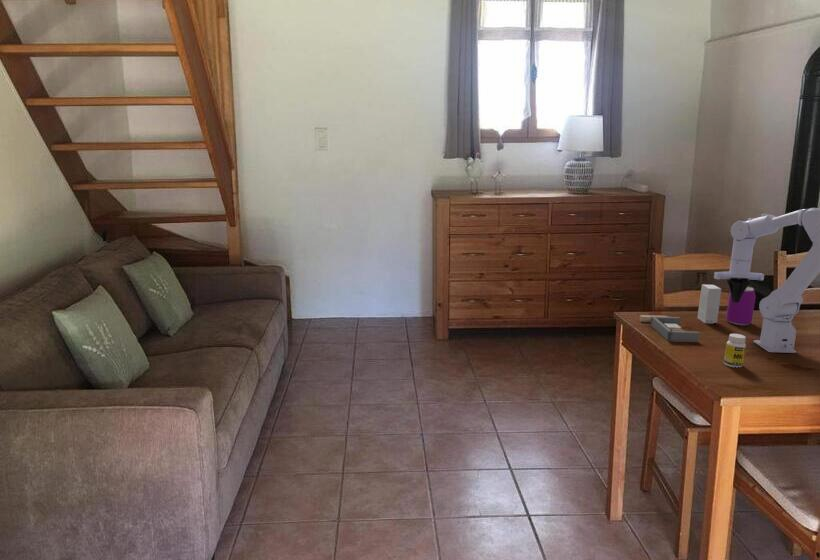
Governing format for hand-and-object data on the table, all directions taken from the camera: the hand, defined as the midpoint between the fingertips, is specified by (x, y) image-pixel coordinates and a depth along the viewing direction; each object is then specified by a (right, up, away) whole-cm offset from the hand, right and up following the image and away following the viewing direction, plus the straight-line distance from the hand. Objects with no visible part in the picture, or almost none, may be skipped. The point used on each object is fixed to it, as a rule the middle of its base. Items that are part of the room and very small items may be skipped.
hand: (735, 301), depth 204 cm
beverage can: (+7, -8, +12) cm, 16 cm away
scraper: (-20, -7, +12) cm, 24 cm away
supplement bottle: (-14, -17, -26) cm, 34 cm away
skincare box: (-3, -7, +13) cm, 15 cm away
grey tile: (-19, -10, +2) cm, 21 cm away
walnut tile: (-19, -11, -3) cm, 22 cm away
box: (-20, -10, -1) cm, 22 cm away
